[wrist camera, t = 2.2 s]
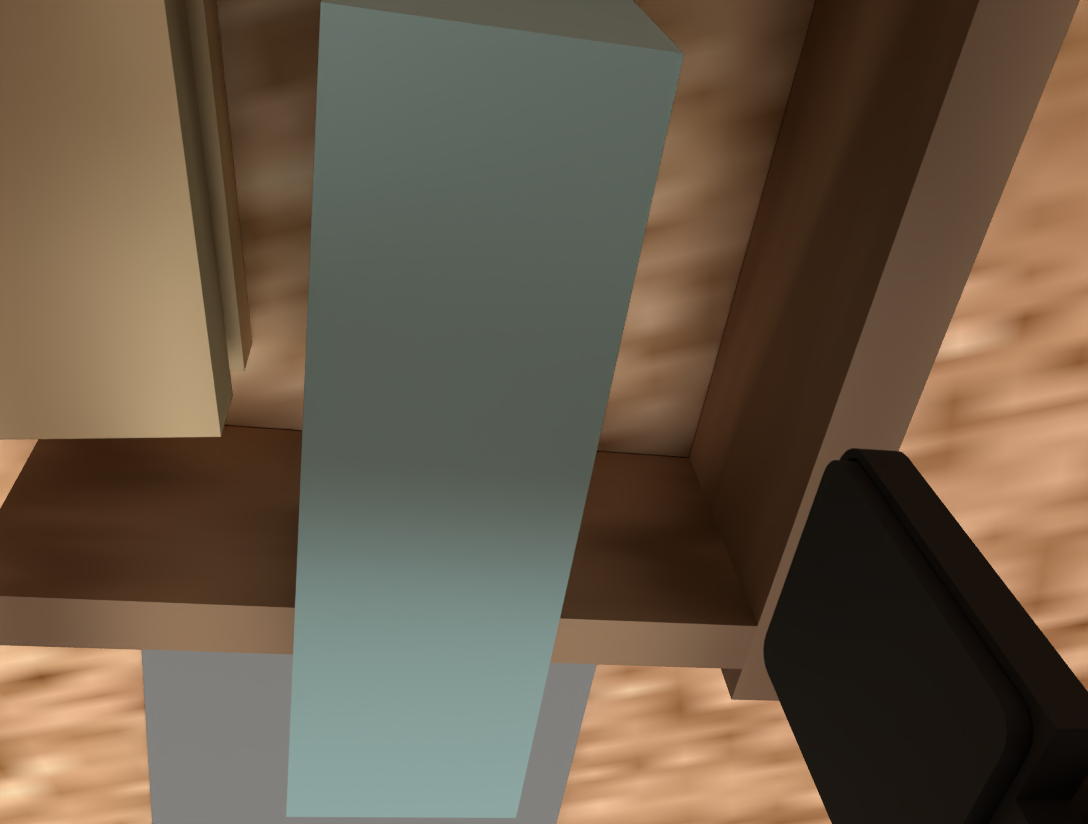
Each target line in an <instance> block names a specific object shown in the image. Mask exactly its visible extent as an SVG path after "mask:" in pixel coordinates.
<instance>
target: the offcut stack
mask: <svg viewBox="0 0 1088 824" xmlns="http://www.w3.org/2000/svg"><path fill="white" fill-rule="evenodd" d="M251 345H252V334H251V325H250V315H249V306H248V296H247V287H246V277H245V268H244V258H243V249H242V239H241V229H240V220H239V210H238V201H237V191H236V182H235V172H234V163H233V153H232V144H231V134H230V125H229V115H228V106H227V96H226V86H225V77H224V67H223V58H222V48H221V39H220V29H219V20H218V10H217V1H216V0H0V440H4V439H84V438H163V437H221V435H222V431H223V428H224V424H225V421H226V417H227V414H228V410H229V407H230V403H231V400H232V396H233V393H232V385H231V377H230V371H245V367H246V364H247V360H248V356H249V353H250V349H251Z"/></svg>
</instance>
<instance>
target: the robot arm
mask: <svg viewBox="0 0 1088 824" xmlns="http://www.w3.org/2000/svg"><path fill="white" fill-rule="evenodd" d="M763 653H764V663H765V667H766V670H767V673H768V675H769V678H770V680H771V682H772V685H773V687H774V689H775V692H776V694H777V696H778V699H779V701H780V703H781V706H782V708H783V710H784V713H785V715H786V717H787V720H788V722H789V724H790V727H791V729H792V731H793V734H794V736H795V738H796V741H797V743H798V745H799V748H800V750H801V752H802V755H803V757H804V759H805V762H806V764H807V766H808V769H809V771H810V773H811V776H812V778H813V780H814V783H815V785H816V787H817V790H818V792H819V795H820V797H821V799H822V802H823V804H824V806H825V809H826V811H827V813H828V816H829V818H830V820H831V823H832V824H1088V692H1087V690H1086V689H1085V688H1084V686H1083V685H1082V684H1081V682H1080V681H1079V680H1078V679H1077V677H1076V676H1075V675H1074V673H1073V672H1072V671H1071V669H1070V668H1069V667H1068V665H1067V664H1066V663H1065V662H1064V660H1063V659H1062V658H1061V656H1060V655H1059V654H1058V652H1057V651H1056V650H1055V649H1054V647H1053V646H1052V645H1051V643H1050V642H1049V641H1048V639H1047V638H1046V637H1045V636H1044V634H1043V633H1042V632H1041V630H1040V629H1039V628H1038V626H1037V625H1036V624H1035V622H1034V621H1033V620H1032V619H1031V617H1030V616H1029V615H1028V613H1027V612H1026V611H1025V609H1024V608H1023V607H1022V606H1021V604H1020V603H1019V602H1018V600H1017V599H1016V598H1015V596H1014V595H1013V594H1012V592H1011V591H1010V590H1009V589H1008V587H1007V586H1006V585H1005V583H1004V582H1003V581H1002V579H1001V578H1000V577H999V576H998V574H997V573H996V572H995V570H994V569H993V568H992V566H991V565H990V564H989V563H988V561H987V560H986V559H985V557H984V556H983V555H982V553H981V552H980V551H979V549H978V548H977V547H976V546H975V544H974V543H973V542H972V540H971V539H970V538H969V536H968V535H967V534H966V533H965V531H964V530H963V529H962V527H961V526H960V525H959V523H958V522H957V521H956V519H955V518H954V517H953V516H952V514H951V513H950V512H949V510H948V509H947V508H946V506H945V505H944V504H943V503H942V501H941V500H940V499H939V497H938V496H937V495H936V493H935V492H934V491H933V490H932V488H931V487H930V486H929V484H928V483H927V482H926V480H925V479H924V478H923V476H922V475H921V474H920V473H919V471H918V470H917V469H916V467H915V466H914V465H913V463H912V462H911V461H910V460H909V458H908V457H907V456H906V455H905V454H904V453H902V452H899V451H891V450H875V449H858V448H852V449H849V450H847V451H846V452H845V453H844V454H843V455H842V456H841V458H840V460H833V461H831V462H830V463H829V464H828V465H827V466H826V469H825V471H824V473H823V476H822V479H821V481H820V484H819V487H818V490H817V493H816V495H815V498H814V501H813V504H812V507H811V509H810V512H809V515H808V518H807V521H806V523H805V526H804V529H803V532H802V535H801V537H800V540H799V543H798V546H797V549H796V551H795V554H794V557H793V560H792V563H791V566H790V568H789V571H788V574H787V577H786V580H785V582H784V585H783V588H782V591H781V594H780V596H779V599H778V602H777V605H776V608H775V610H774V613H773V616H772V619H771V622H770V624H769V627H768V630H767V633H766V636H765V640H764V648H763Z"/></svg>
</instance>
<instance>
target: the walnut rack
mask: <svg viewBox="0 0 1088 824" xmlns="http://www.w3.org/2000/svg"><path fill="white" fill-rule="evenodd" d="M1079 1H1080V0H816V3H815V6H814V10H813V13H812V17H811V21H810V24H809V28H808V32H807V35H806V39H805V42H804V46H803V50H802V53H801V57H800V60H799V64H798V68H797V71H796V75H795V78H794V82H793V86H792V89H791V93H790V96H789V100H788V104H787V107H786V111H785V115H784V118H783V122H782V125H781V129H780V133H779V136H778V140H777V143H776V147H775V151H774V154H773V158H772V161H771V165H770V169H769V172H768V176H767V179H766V183H765V187H764V190H763V194H762V198H761V201H760V205H759V208H758V212H757V216H756V219H755V223H754V226H753V230H752V234H751V237H750V241H749V244H748V248H747V252H746V255H745V259H744V262H743V266H742V270H741V273H740V277H739V281H738V284H737V288H736V291H735V295H734V299H733V302H732V306H731V309H730V313H729V317H728V320H727V324H726V327H725V331H724V335H723V338H722V342H721V346H720V349H719V353H718V356H717V360H716V364H715V367H714V371H713V374H712V378H711V382H710V385H709V389H708V392H707V396H706V400H705V403H704V407H703V410H702V414H701V418H700V421H699V425H698V429H697V432H696V436H695V439H694V443H693V447H692V450H691V454H690V457H689V458H681V457H667V456H653V455H638V454H624V453H610V452H596V457H595V461H594V466H593V470H592V475H591V479H590V484H589V488H588V493H587V497H586V502H585V507H584V511H583V516H582V520H581V525H580V529H579V534H578V538H577V543H576V547H575V552H574V556H573V561H572V566H571V570H570V575H569V579H568V584H567V588H566V593H565V597H564V602H563V606H562V611H561V616H560V620H559V625H558V629H557V634H556V638H555V643H554V647H553V652H552V656H551V661H550V663H572V664H603V665H634V666H665V667H696V668H721V670H722V673H723V676H724V679H725V682H726V685H727V687H728V690H729V693H730V696H731V699H735V700H772V701H779V699H778V696H777V694H776V692H775V689H774V687H773V685H772V682H771V680H770V678H769V675H768V673H767V670H766V667H765V663H764V653H763V648H764V640H765V636H766V633H767V630H768V627H769V624H770V622H771V619H772V616H773V613H774V610H775V608H776V605H777V602H778V599H779V596H780V594H781V591H782V588H783V585H784V582H785V580H786V577H787V574H788V571H789V568H790V566H791V563H792V560H793V557H794V554H795V551H796V549H797V546H798V543H799V540H800V537H801V535H802V532H803V529H804V526H805V523H806V521H807V518H808V515H809V512H810V509H811V507H812V504H813V501H814V498H815V495H816V493H817V490H818V487H819V484H820V481H821V479H822V476H823V473H824V471H825V469H826V466H827V465H828V464H829V463H830V462H831V461H833V460H840V458H841V456H842V455H843V454H844V453H845V452H846V451H847V450H849V449H852V448H858V449H875V450H891V451H899V448H900V446H901V443H902V441H903V438H904V436H905V433H906V431H907V428H908V426H909V423H910V421H911V419H912V416H913V414H914V411H915V409H916V406H917V404H918V401H919V399H920V396H921V394H922V391H923V389H924V386H925V384H926V381H927V379H928V376H929V374H930V371H931V369H932V366H933V364H934V361H935V359H936V356H937V354H938V351H939V349H940V346H941V344H942V341H943V339H944V336H945V334H946V331H947V329H948V326H949V324H950V321H951V319H952V316H953V314H954V312H955V309H956V307H957V304H958V302H959V299H960V297H961V294H962V292H963V289H964V287H965V284H966V282H967V279H968V277H969V274H970V272H971V269H972V267H973V264H974V262H975V259H976V257H977V254H978V252H979V249H980V247H981V244H982V242H983V239H984V237H985V234H986V232H987V229H988V227H989V224H990V222H991V219H992V217H993V214H994V212H995V210H996V207H997V205H998V202H999V200H1000V197H1001V195H1002V192H1003V190H1004V187H1005V185H1006V182H1007V180H1008V177H1009V175H1010V172H1011V170H1012V167H1013V165H1014V162H1015V160H1016V157H1017V155H1018V152H1019V150H1020V147H1021V145H1022V142H1023V140H1024V137H1025V135H1026V132H1027V130H1028V127H1029V125H1030V122H1031V120H1032V117H1033V115H1034V112H1035V110H1036V107H1037V105H1038V103H1039V100H1040V98H1041V95H1042V93H1043V90H1044V88H1045V85H1046V83H1047V80H1048V78H1049V75H1050V73H1051V70H1052V68H1053V65H1054V63H1055V60H1056V58H1057V55H1058V53H1059V50H1060V48H1061V45H1062V43H1063V40H1064V38H1065V35H1066V33H1067V30H1068V28H1069V25H1070V23H1071V20H1072V18H1073V15H1074V13H1075V10H1076V8H1077V5H1078V3H1079ZM302 432H303V431H294V430H279V429H265V428H251V427H236V426H224V428H223V431H222V435H221V437H163V438H84V439H39V440H38V442H37V443H36V445H35V447H34V449H33V451H32V452H31V454H30V456H29V458H28V460H27V461H26V463H25V465H24V467H23V469H22V471H21V472H20V474H19V476H18V478H17V480H16V481H15V483H14V485H13V487H12V489H11V490H10V492H9V494H8V496H7V498H6V500H5V501H4V503H3V505H2V507H1V509H0V645H13V646H44V647H75V648H106V649H137V650H168V651H199V652H230V653H261V654H292V655H293V644H294V621H295V597H296V574H297V550H298V526H299V503H300V479H301V456H302Z"/></svg>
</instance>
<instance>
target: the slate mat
mask: <svg viewBox="0 0 1088 824" xmlns="http://www.w3.org/2000/svg"><path fill="white" fill-rule="evenodd" d="M142 664H143V680H144V696H145V712H146V729H147V745H148V761H149V778H150V794H151V810H152V824H556V823H557V819H558V815H559V811H560V807H561V803H562V799H563V795H564V791H565V787H566V783H567V779H568V775H569V771H570V767H571V763H572V760H573V756H574V752H575V748H576V744H577V740H578V736H579V732H580V728H581V724H582V720H583V716H584V712H585V708H586V704H587V700H588V696H589V692H590V688H591V684H592V680H593V676H594V672H595V668H596V664H572V663H550V665H549V670H548V675H547V679H546V684H545V688H544V693H543V697H542V702H541V706H540V711H539V715H538V720H537V725H536V729H535V734H534V738H533V743H532V747H531V752H530V756H529V761H528V765H527V770H526V774H525V779H524V784H523V788H522V793H521V797H520V802H519V806H518V811H517V815H516V818H419V817H286V810H287V786H288V762H289V739H290V715H291V692H292V668H293V655H292V654H261V653H230V652H199V651H168V650H142Z"/></svg>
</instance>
